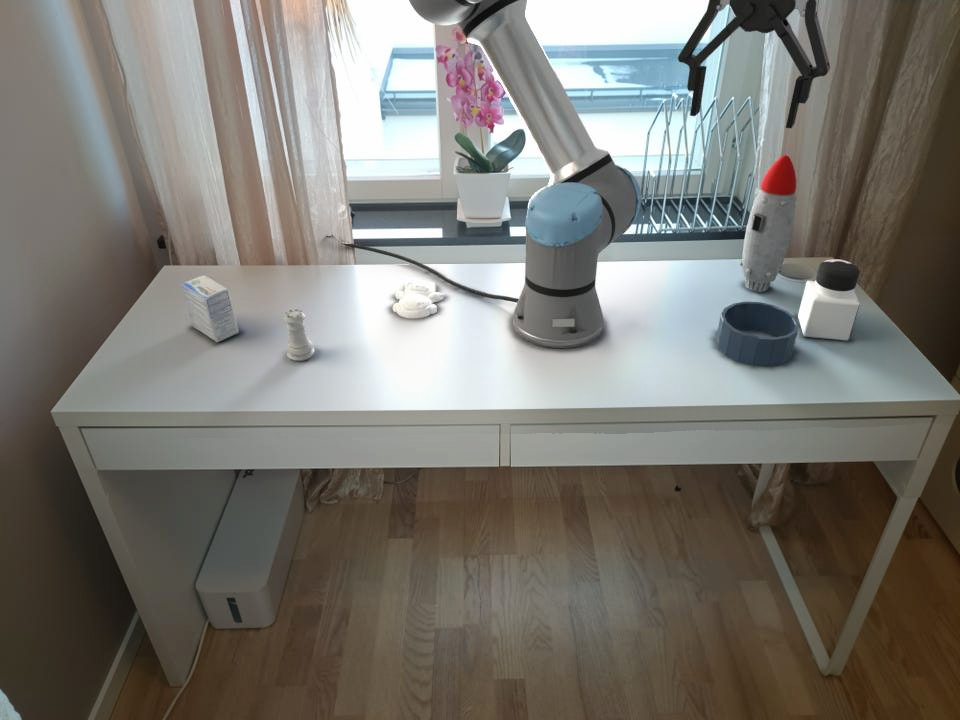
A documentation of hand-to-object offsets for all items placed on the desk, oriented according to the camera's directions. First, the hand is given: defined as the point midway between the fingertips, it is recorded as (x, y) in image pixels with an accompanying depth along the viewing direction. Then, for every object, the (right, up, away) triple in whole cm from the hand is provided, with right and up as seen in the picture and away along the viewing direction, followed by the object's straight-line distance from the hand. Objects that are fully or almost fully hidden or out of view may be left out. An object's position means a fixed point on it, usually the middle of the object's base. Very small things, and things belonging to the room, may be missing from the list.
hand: (741, 119), depth 108 cm
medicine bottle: (+20, -30, +18) cm, 40 cm away
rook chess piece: (-67, -34, +13) cm, 76 cm away
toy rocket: (+13, -22, +30) cm, 40 cm away
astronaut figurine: (-49, -25, +27) cm, 62 cm away
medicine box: (-83, -30, +19) cm, 91 cm away
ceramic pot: (+7, -33, +13) cm, 36 cm away
